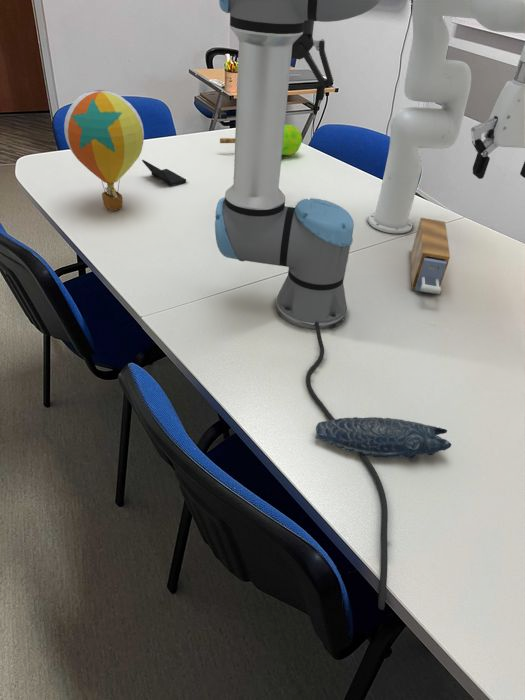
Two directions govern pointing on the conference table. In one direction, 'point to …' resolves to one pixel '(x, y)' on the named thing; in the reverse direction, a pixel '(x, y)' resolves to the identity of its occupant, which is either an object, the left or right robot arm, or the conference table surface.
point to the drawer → (430, 275)
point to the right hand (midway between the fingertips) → (501, 176)
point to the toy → (105, 138)
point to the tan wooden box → (428, 246)
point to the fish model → (382, 436)
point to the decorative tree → (290, 140)
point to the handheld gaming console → (165, 175)
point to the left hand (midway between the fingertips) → (289, 110)
